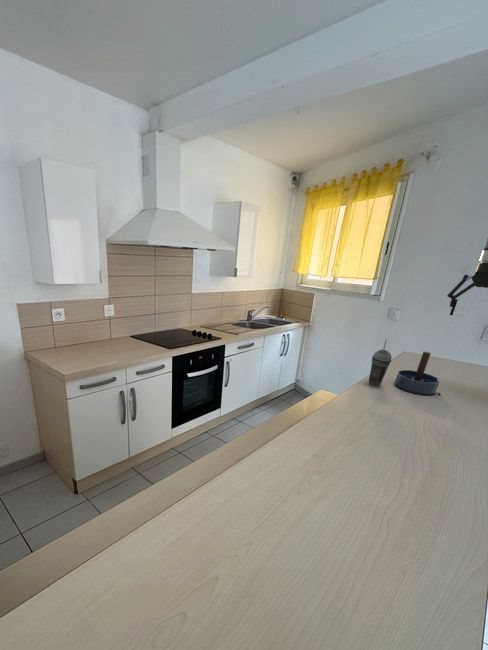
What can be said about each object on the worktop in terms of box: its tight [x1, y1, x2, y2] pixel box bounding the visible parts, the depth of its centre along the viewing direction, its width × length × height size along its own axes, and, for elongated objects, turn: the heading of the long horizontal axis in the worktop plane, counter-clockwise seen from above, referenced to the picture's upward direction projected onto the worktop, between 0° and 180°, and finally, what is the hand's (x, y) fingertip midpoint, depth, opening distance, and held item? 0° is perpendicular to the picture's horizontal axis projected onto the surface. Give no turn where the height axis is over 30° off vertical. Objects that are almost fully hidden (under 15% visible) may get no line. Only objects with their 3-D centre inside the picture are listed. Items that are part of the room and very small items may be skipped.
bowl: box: [393, 369, 441, 395], centre depth 138 cm, size 15×15×6 cm
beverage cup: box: [368, 338, 392, 387], centre depth 137 cm, size 7×7×20 cm
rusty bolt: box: [411, 351, 431, 382], centre depth 137 cm, size 5×5×15 cm
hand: (471, 317), depth 133 cm, fingers open, 13 cm apart
